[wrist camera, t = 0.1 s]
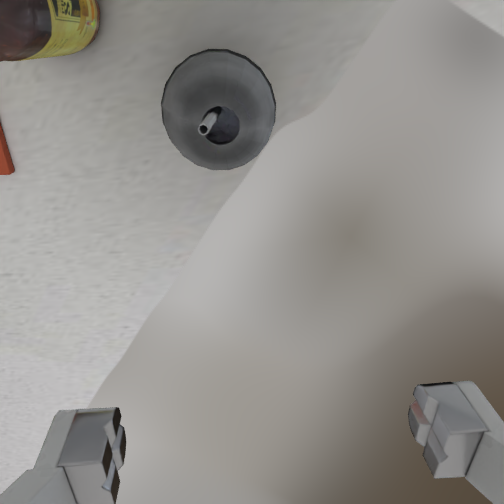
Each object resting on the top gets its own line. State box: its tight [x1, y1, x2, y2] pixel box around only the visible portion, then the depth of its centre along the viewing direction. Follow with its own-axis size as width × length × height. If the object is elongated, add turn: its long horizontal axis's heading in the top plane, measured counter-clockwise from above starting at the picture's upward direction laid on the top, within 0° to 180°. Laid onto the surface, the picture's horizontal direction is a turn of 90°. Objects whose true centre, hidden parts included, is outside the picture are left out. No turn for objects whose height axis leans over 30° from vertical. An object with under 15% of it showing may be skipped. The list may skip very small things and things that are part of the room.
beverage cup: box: [161, 49, 276, 170], centre depth 27 cm, size 7×7×20 cm
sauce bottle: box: [0, 0, 100, 61], centre depth 24 cm, size 7×6×20 cm
